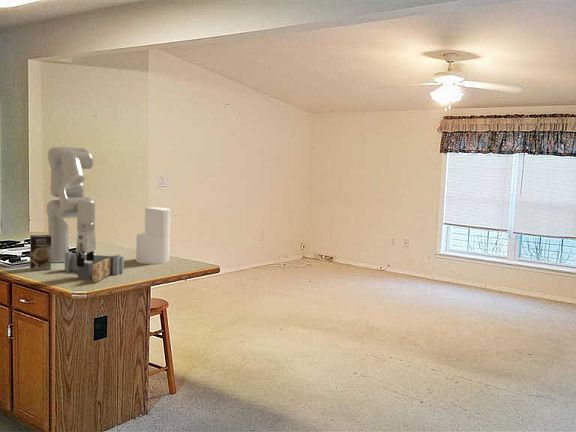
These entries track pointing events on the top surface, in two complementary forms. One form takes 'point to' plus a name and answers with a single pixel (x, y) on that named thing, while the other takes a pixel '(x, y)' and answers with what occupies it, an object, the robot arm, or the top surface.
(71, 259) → the wall
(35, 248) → the coffee box
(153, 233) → the stepped white column
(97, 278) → the door
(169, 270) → the top surface
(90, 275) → the grey rectangular block
